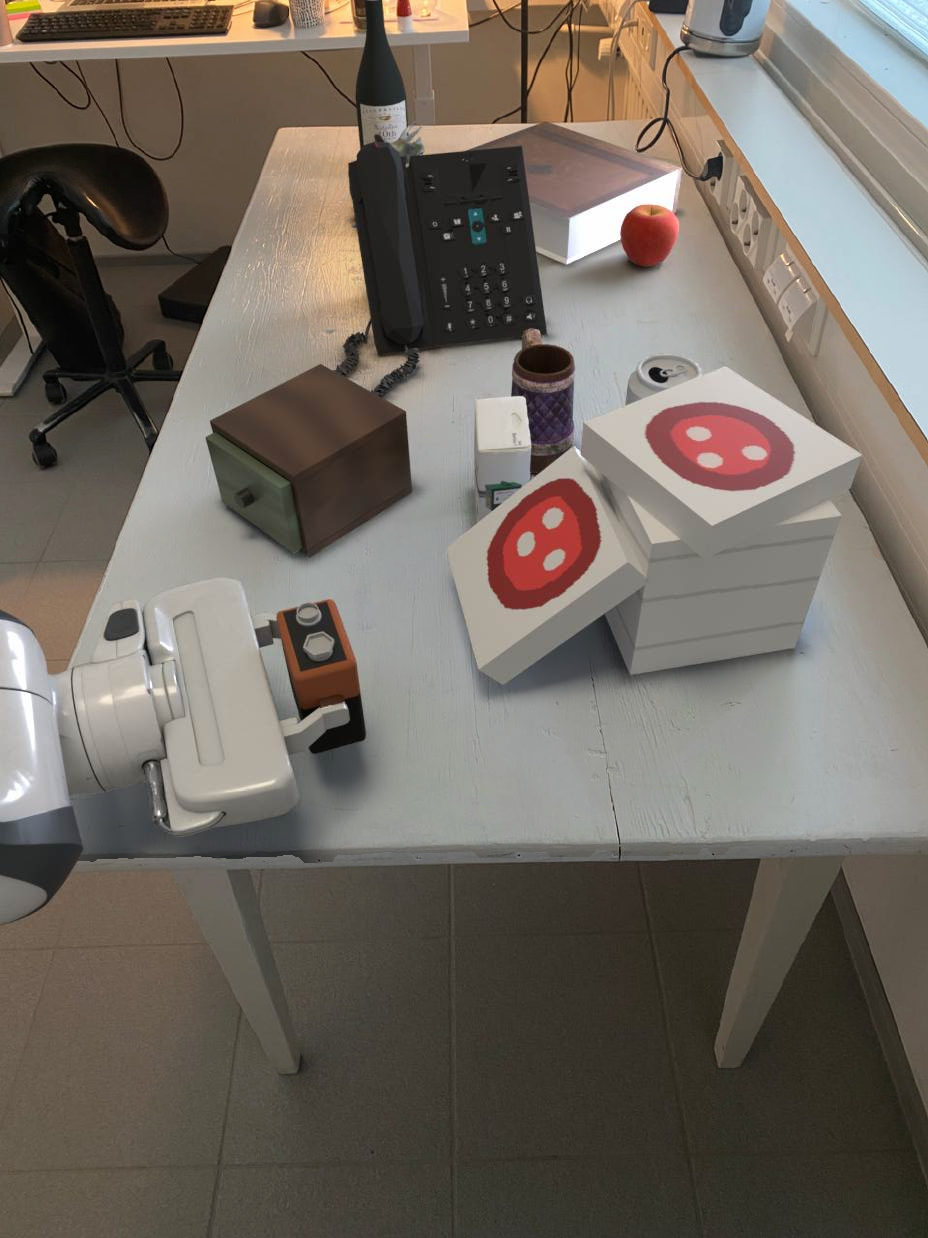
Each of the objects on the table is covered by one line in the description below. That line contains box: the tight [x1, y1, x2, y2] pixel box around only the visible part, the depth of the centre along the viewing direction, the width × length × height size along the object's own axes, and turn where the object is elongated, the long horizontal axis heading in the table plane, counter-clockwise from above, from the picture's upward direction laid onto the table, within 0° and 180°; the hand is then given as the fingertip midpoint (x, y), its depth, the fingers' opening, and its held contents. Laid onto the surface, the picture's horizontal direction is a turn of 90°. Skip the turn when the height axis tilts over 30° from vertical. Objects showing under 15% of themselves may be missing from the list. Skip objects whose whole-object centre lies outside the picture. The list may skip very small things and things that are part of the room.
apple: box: [619, 204, 680, 267], centre depth 128 cm, size 8×8×8 cm
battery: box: [276, 598, 367, 755], centre depth 67 cm, size 4×7×10 cm, turn 19°
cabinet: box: [209, 363, 413, 558], centre depth 93 cm, size 14×13×10 cm
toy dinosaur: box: [348, 120, 425, 229], centre depth 138 cm, size 22×8×11 cm, turn 154°
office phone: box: [332, 141, 548, 399], centre depth 110 cm, size 29×28×20 cm
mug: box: [510, 328, 576, 474], centre depth 97 cm, size 10×7×12 cm
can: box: [624, 353, 703, 406], centre depth 94 cm, size 8×8×12 cm
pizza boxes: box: [445, 365, 863, 686], centre depth 77 cm, size 19×30×18 cm, turn 101°
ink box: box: [473, 396, 531, 524], centre depth 89 cm, size 9×5×12 cm, turn 2°
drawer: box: [204, 432, 303, 554], centre depth 91 cm, size 14×12×8 cm
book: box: [465, 120, 683, 265], centre depth 141 cm, size 24×28×6 cm
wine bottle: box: [354, 0, 409, 169], centre depth 144 cm, size 8×8×30 cm
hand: (332, 665), depth 67 cm, fingers closed on battery, 7 cm apart
